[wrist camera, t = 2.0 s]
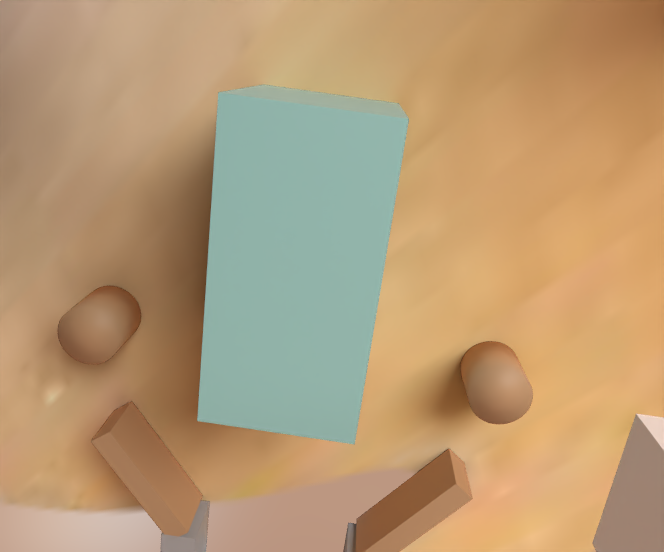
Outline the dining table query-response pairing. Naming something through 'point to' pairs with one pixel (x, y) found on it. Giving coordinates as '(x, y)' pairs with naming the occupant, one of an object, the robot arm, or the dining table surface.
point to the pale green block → (296, 257)
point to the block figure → (192, 513)
